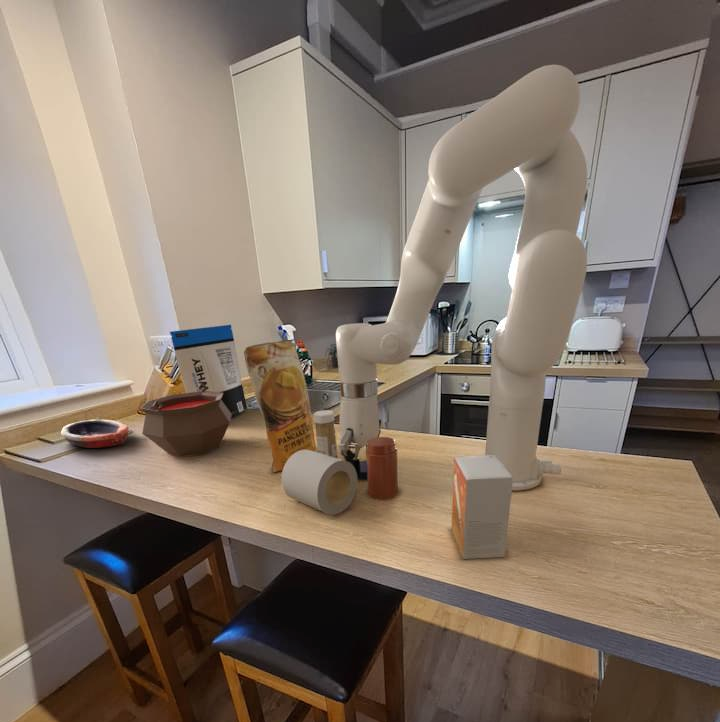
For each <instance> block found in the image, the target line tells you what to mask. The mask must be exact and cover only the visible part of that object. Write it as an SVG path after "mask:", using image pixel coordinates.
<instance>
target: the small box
mask: <svg viewBox="0 0 720 722" xmlns="http://www.w3.org/2000/svg"><path fill="white" fill-rule="evenodd" d="M512 483H513V476H512V475H511V474H510V472H509V471H508V470H507V469H506V467H505V466H504V464H502V463H501V462H500V460H499V459H498V458H497V457H496V456H495V455H485V454H484V455H471V456H469V455H468V456H459V457H454V458H453V480H452V502H451V503H452V505H451V527H450V528H451V532H452V534H453V537H454V539H455V541H456V542H455V543H456V544H457V547H458V550H459V552H460V555H461V558H462V559H463V560H472V559H491V558H492V559H493V558H504V557H505V556H506V548H507V539H508V529H509V520H510V510H511V502H512V501H511V500H512V492H513V490H512Z"/></svg>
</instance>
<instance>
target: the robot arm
mask: <svg viewBox="0 0 720 722" xmlns="http://www.w3.org/2000/svg"><path fill="white" fill-rule="evenodd" d="M580 90H581V89H580V84H579V81H578V79H577V77H576V76H575V74H574V73H573V72H572V71H571V70H570V69H569V68H568V67H566V66H564V65H561V64H549V65H543V66H541V67H539V68H536V69H533V70H532V71H530V72H529V73H527V74H525V75H524V76H522V77H521V78H520V79H518V80H516V81H515V82H514V83H512V84H511V85H510V86H508V87H507V88H506V89H504V90H503V91H501V92H500V93H499V94H497V95H495V97H493V98H492V99H490V100H488V101H487V102H486V103H484V104H483V105H482V106H480V107H479V108H477V109H476V110H474V111H473V112H472V113H470V114H469V115H467V116H466V117H465V118H463V119H462V120H460V121H458V122H457V123H456V124H455V125H454V126H452V127H451V128H449V130H447V131H446V132H444V134H443V135H442V136H441V137H440V138H439V140H437V142H436V144H435V145H434V147H433V149H432V151H431V153H430V157H429V160H428V167H427V168H428V169H427V171H428V180H427V183H426V186H425V188H424V192H423V195H422V196H421V200H420V202H419V203H420V204H419V206H418V209H417V212H416V215H415V218H414V220H413V222H412V225H411V229H410V231H409V234H408V237H407V240H406V241H405V245H404V248H403V252H402V255H401V260H400V261H401V262H400V275H399V280H398V285H397V290H396V292H395V296H394V298H393V302H392V305H391V308H390V310H389V313H388V316H387V318H386V321H385V322H383V323H379V324H370V323H366V322H361V323H360V322H359V323H357V322H356V323H345V324H342V325H339V326H338V327H337V328H336V331H335V345H336V355H337V357H336V358H337V367H338V369H337V370H338V378H339V389H340V390H339V392H340V402H339V403H340V404H339V440H340V442H339V443H338V447H339V449H340V453H341V455H342V456H343V457H342V458H343V460H345V461H348V462H350V463H351V464H352V465H353V466H354V468H355V470H356V473H357V477H360V476H361V470H360V461H361V458H359V455H360V452H361V449H362V448H364V447H365V451H366V450H367V449H368V448H367V441H368V440H370V439H372V438H376V437H381V433H382V431H381V425H382V420H381V419H380V413H379V403H378V398H377V397H379V390H378V370H377V364H380V365H388V366H393V365H395V366H396V365H399V364H402V363H404V362H406V361H407V360H408V359H409V358H410V356H411V355H412V353H413V352H414V350H415V349H416V346H417V345H418V342H419V339H420V336H421V334H422V332H423V329H424V327H425V325H426V322H427V320H428V317H429V315H430V312H431V310H432V308H433V305H434V302H435V300H436V298H437V296H438V295H439V292H440V290H441V288H442V286H443V285H444V283H445V281H446V279H447V276H448V274H449V271H450V269H451V267H452V264H453V262H454V259H455V257H456V254H457V252H458V249H459V247H460V245H461V242H462V239H463V237H464V235H465V232H466V230H467V228H468V225H469V223H470V220H471V218H472V215H473V213H474V211H475V208H476V206H477V203H478V202H479V199H480V196H481V193H482V191H483V189H484V188H485V187H486V186H489V185H490V184H493V182H496V181H497V180H499V179H501V178H503V177H504V176H505V175H508V174H510V172H512V171H515V172H517V173H518V175H519V176H520V177H521V180H522V183H523V185H524V201H523V202H524V203H523V209H522V214H521V220H520V225H519V230H518V234H517V240H516V244H515V249H514V253H513V256H512V260H511V263H510V267H509V272H508V281H509V287H510V288H511V294H510V299H509V303H508V308H507V313H506V317H505V318H503V319H502V320H501V321H500V322H499V323H498V325H497V327H496V329H495V330H494V333H493V336H492V340H491V349H490V350H491V351H490V352H491V353H490V355H491V356H490V361H491V362H490V383H489V384H490V385H489V399H488V408H487V409H488V411H487V425H486V435H485V437H486V438H485V451H484V455H495V456H496V457H497V458H498V459H499V460H500V462H501V463H502V464H504V466H505V467H506V469H507V470H508V471H509V472H510V474H511V475H512V476H513V483H512V491H513V492H514V491H516V492H517V491H524V490H530V489H534V488H535V487H538V486H539V485H540V484H541V482H542V477H543V474H549V475H561V473H562V465H561V464H554V463H553V461H552V460H540V459H538V456H537V450H538V445H539V444H538V443H539V434H540V427H541V420H542V413H543V406H544V401H545V400H544V399H545V393H546V392H545V391H546V382H547V381H546V379H547V372H548V371H550V369H552V368H553V367H554V366H555V365H556V364H557V363H558V361H559V360H560V358H561V356H562V355H563V353H564V350H565V349H566V345H567V343H568V339H569V336H570V333H571V329H572V325H573V324H574V323H573V322H574V319H575V315H576V312H577V308H578V305H579V302H580V298H581V295H582V291H583V289H584V283H585V280H586V274H587V269H588V254H587V251H586V247H585V245H584V242H583V241H582V240H581V238H580V237H578V236H577V234H578V229H579V225H580V221H581V217H582V211H583V207H584V202H585V197H586V193H587V187H588V186H587V185H588V166H587V161H586V157H585V154H584V151H583V149H582V145H581V144H580V142H579V140H578V138H577V136H576V135H575V134H574V133H573V132H572V130H571V128H572V126H573V125H574V123H575V120H576V118H577V116H578V114H579V113H578V112H579V107H580V104H581V103H580V101H581V91H580ZM351 449H354V450H353V451H354V452H353V451H352V450H351Z"/></svg>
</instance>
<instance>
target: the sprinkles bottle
mask: <svg viewBox="0 0 720 722" xmlns="http://www.w3.org/2000/svg"><path fill="white" fill-rule="evenodd" d="M312 418H313V419H312V420H313V423H314V427H315V438H316V440H315V441H316V449H317V453H321V454H324V455H328V456H331V457H334V458H338V457H339V456H338V447H337V438H336V430H335V412H334V411H333V410H327V409H323V410H318V411H315V412H313V414H312ZM338 459H339V458H338Z"/></svg>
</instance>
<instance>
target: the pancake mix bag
mask: <svg viewBox="0 0 720 722" xmlns="http://www.w3.org/2000/svg"><path fill="white" fill-rule="evenodd" d="M243 355H244V361H245V366H246V369H247V372H248V376H249V378H250V380H251V381H250V382H251V384H252V388H253V393H254V397H255V401H256V403H257V406H258V409H259V410H260V413H261V415H262V418H263V421H264V425H265V430H266V435H267V440H268V443H269V445H270V450H271V455H272V456H271V457H272V464H271V465H272V466H271V467H272V472H273V473H277V472H281V471H283V468H284V466H285V464H286V462H287V460H288V459H289V458H290V457H291V456H292V455H293V454H294V453H296V452H298V451H300V450H311V451H314V452H317V444H316V440H315V431H314V424H313V423H314V422H313V419H312V418H313V417H312V410H311V404H310V397H309V392H308V387H307V382H306V377H305V374H304V370H303V366H302V363H301V361H300V357H299V353H298V350H297V347H296V343H295V342H293V340H292V339H285V340H280V341H274V342H264V343H258V344H254V345H250V346H246V347H245V349H244V352H243Z"/></svg>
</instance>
